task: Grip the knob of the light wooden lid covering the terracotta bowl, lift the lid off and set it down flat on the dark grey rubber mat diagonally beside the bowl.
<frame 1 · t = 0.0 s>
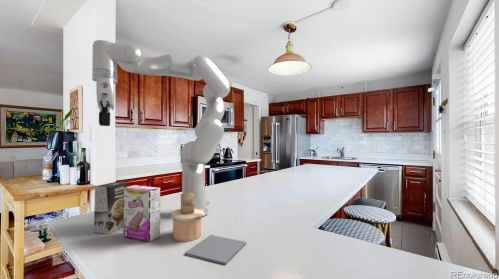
hand: (104, 125, 81), 37 cm above the countertop, tool pointing down, fingers open, 9 cm apart
candy bar box: (141, 237, 74), on the countertop
coffee box: (111, 229, 81), on the countertop
lid: (187, 215, 76), point 7 cm above the countertop, touching bowl
bowl: (187, 235, 76), on the countertop
mat: (217, 248, 66), on the countertop
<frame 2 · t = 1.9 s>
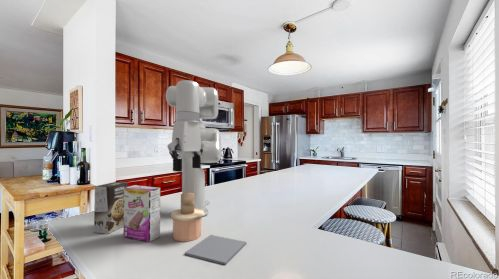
hand: (187, 169, 76), 22 cm above the countertop, tool pointing down, fingers open, 9 cm apart
nothing on the countertop moved.
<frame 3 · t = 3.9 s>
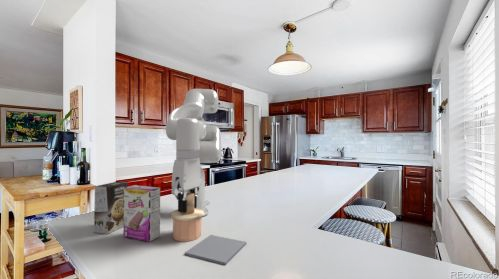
hand: (187, 209, 76), 9 cm above the countertop, tool pointing down, fingers closed on lid, 4 cm apart
lid: (187, 215, 76), point 7 cm above the countertop, touching bowl, gripper
everything else where it was.
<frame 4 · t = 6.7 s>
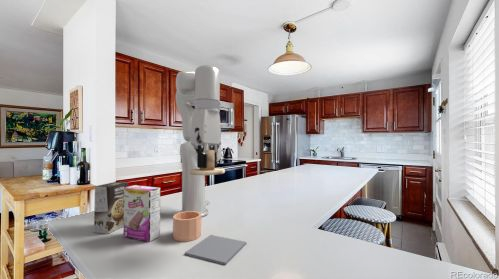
hand: (207, 166, 69), 24 cm above the countertop, tool pointing down, fingers closed on lid, 4 cm apart
lid: (207, 173, 69), point 22 cm above the countertop, touching gripper
everything else where it was.
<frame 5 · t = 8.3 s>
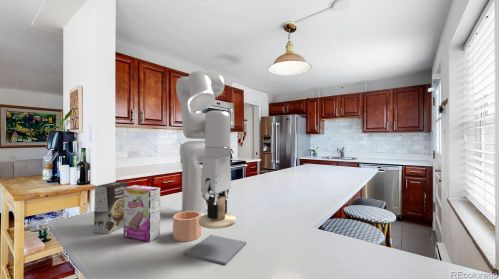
hand: (217, 214, 66), 10 cm above the countertop, tool pointing down, fingers closed on lid, 4 cm apart
lid: (217, 221, 66), point 8 cm above the countertop, touching gripper
everything else where it was.
when the fingers open (4 cm above the countertop, at t = 9.6 s): lid drops 2 cm, resting on mat.
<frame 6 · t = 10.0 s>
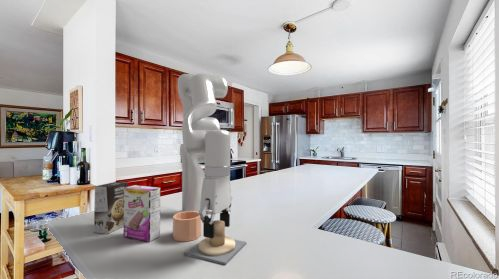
hand: (217, 231, 66), 5 cm above the countertop, tool pointing down, fingers open, 8 cm apart
lid: (217, 246, 66), point 1 cm above the countertop, touching mat
everything else where it was.
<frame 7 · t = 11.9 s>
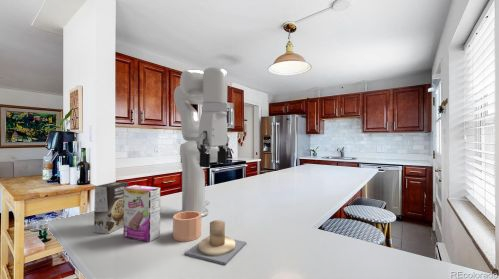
hand: (213, 165, 70), 24 cm above the countertop, tool pointing down, fingers open, 9 cm apart
nothing on the countertop moved.
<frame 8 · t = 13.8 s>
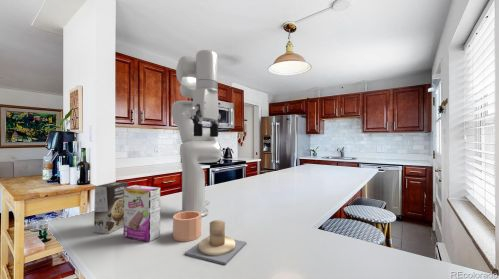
hand: (206, 136, 79), 33 cm above the countertop, tool pointing down, fingers open, 9 cm apart
nothing on the countertop moved.
at the end: lid inside the target area on the mat (0.1 cm from its centre), point 0.6 cm above the mat's base; lid tilted 0°; lid touching mat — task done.
